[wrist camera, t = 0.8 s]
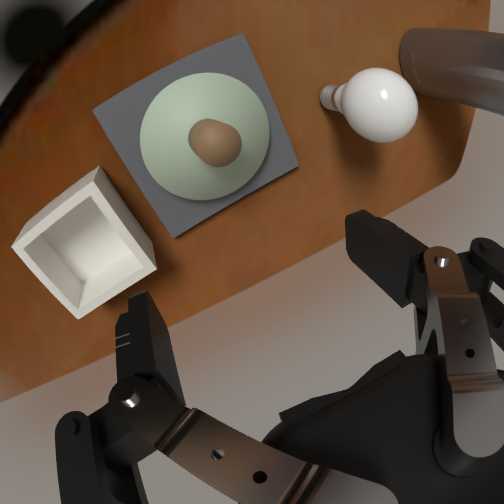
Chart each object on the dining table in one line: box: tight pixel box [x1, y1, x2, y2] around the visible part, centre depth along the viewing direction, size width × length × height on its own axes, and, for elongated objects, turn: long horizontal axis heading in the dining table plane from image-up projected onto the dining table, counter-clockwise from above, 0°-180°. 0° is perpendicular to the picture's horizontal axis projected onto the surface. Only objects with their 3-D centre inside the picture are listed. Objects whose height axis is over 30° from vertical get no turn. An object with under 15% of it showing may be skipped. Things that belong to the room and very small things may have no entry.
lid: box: [140, 73, 270, 200], centre depth 23 cm, size 11×11×5 cm
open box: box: [11, 165, 157, 319], centre depth 24 cm, size 9×9×5 cm
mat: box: [92, 33, 299, 238], centre depth 26 cm, size 14×14×1 cm
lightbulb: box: [320, 68, 418, 143], centre depth 23 cm, size 6×6×11 cm
